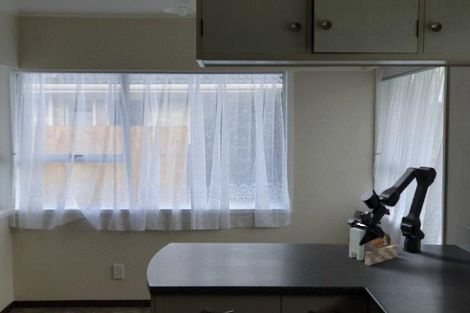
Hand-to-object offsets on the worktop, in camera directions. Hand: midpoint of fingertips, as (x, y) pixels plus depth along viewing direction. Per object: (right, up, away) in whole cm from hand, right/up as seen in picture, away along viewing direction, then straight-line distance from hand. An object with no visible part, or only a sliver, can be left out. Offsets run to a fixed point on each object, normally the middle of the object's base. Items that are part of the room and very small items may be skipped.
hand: (354, 243), depth 213 cm
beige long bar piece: (+11, -7, -2) cm, 13 cm away
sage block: (+1, -7, +1) cm, 7 cm away
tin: (+15, -6, +19) cm, 25 cm away
